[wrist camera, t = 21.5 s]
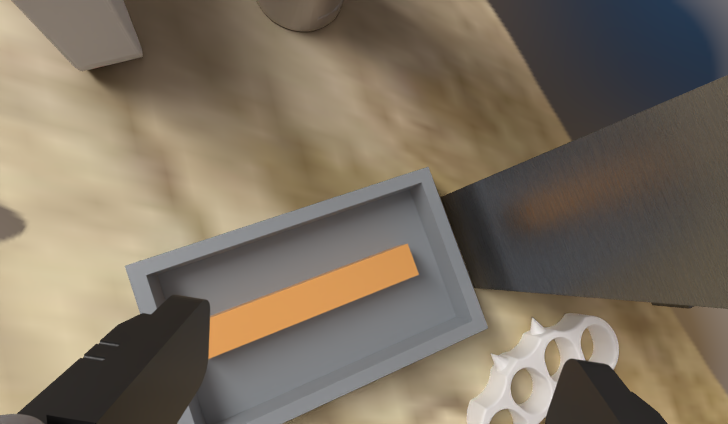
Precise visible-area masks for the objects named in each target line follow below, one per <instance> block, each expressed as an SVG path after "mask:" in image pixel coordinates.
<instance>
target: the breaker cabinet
mask: <svg viewBox="0 0 728 424" xmlns="http://www.w3.org/2000/svg"><path fill="white" fill-rule="evenodd" d="M441 200H442V203H443V205H444V208H445V211H446V213H447V216H448V219H449V221H450V224H451V227H452V229H453V232H454V235H455V238H456V240H457V243H458V246H459V248H460V251H461V254H462V256H463V259H464V262H465V264H466V267H467V270H468V273H469V275H470V278H471V281H472V283H473V286H474V288H483V289H495V290H507V291H519V292H531V293H544V294H556V295H568V296H580V297H592V298H604V299H616V300H629V301H641V302H651V303H652V305H657V306H668V307H679V308H692V307H694V306H701V307H714V308H726V309H728V75H727V76H725V77H722V78H720V79H718V80H715V81H713V82H711V83H708V84H706V85H704V86H701V87H699V88H697V89H694V90H692V91H690V92H687V93H685V94H683V95H680V96H678V97H675V98H673V99H671V100H668V101H666V102H664V103H661V104H659V105H656V106H654V107H652V108H650V109H647V110H645V111H642V112H640V113H638V114H636V115H633V116H631V117H628V118H626V119H624V120H621V121H619V122H616V123H614V124H612V125H609V126H607V127H605V128H602V129H600V130H598V131H595V132H593V133H591V134H588V135H586V136H584V137H581V138H579V139H576V140H574V141H572V142H569V143H567V144H565V145H562V146H560V147H558V148H555V149H553V150H551V151H548V152H546V153H543V154H541V155H539V156H536V157H534V158H532V159H529V160H527V161H525V162H522V163H520V164H518V165H515V166H513V167H511V168H508V169H506V170H503V171H501V172H499V173H496V174H494V175H492V176H489V177H487V178H485V179H482V180H480V181H478V182H475V183H473V184H471V185H468V186H466V187H463V188H461V189H459V190H456V191H454V192H452V193H449V194H447V195H445V196H442V197H441Z"/></svg>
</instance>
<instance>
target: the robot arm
mask: <svg viewBox="0 0 728 424" xmlns="http://www.w3.org/2000/svg"><path fill="white" fill-rule="evenodd" d="M257 2H258V5H259V6H260V8H261V9H262V11H263V12H264V13H265V14H266V15H267V16H268V17H269V18H270V19H271V20H272V21H274V22H275V23H277V24H279V25H280V26H282V27H285V28H287V29H290V30H295V31H313V30H318V29H320V28H322V27H325V26H326V25H328V24H329V23H330V22H332V21H333V20H334V18H335V17H336V16H337V15H338V13H339V11H340V8H341V6H342V2H343V0H257ZM209 332H210V303H209V301H208V300H206V299H200V298H194V297H187V296H181V295H171V296H170V297H169V298H168V299H167V300H166V301H165V302H164V303H162V304H161V305H160V306H159V307H158V308H157V309H156V310H155V311H154V312H153V313H152V314H146V313H142V314H140V315H138V316H135V317H133V318H131V319H129V320H127V321H125V322H123V323H121V324H119V325H117V326H116V327H115V328H114V329H113V330H112V331H110V332H109V333H108V334H107V335H106V336H105V337H104V338H103V339H101V340H100V343H99V344H96V345H95V346H93V347H92V348H91V349H90V350H89V351H88V352H87V353H85V354H84V358H80V359H79V360H78V361H76V362H75V363H74V364H73V365H72V366H71V367H70V368H68V369H67V370H66V371H65V372H64V373H63V374H62V375H60V376H59V377H58V378H57V379H56V380H55V381H54V382H52V383H51V384H50V385H49V386H48V387H47V388H46V389H45V390H43V391H42V392H41V393H40V394H39V395H38V396H37V397H35V398H34V399H33V400H32V401H31V402H30V403H29V404H27V405H26V406H25V407H24V408H23V409H22V410H21V411H20V412H18V413H17V414H8V415H0V424H177V423H178V421H179V420H180V418H181V417H182V415H183V413H184V412H185V410H186V409H187V407H188V405H189V404H190V402H191V401H192V399H193V397H194V396H195V394H196V393H197V391H198V389H199V388H200V386H201V384H202V382H203V379H204V376H205V373H206V370H207V365H208V357H209ZM545 424H667V422H666V421H665V420H664V419H663V418H662V416H661V415H660V414H659V413H658V412H657V411H656V410H655V409H653V408H652V407H651V406H650V405H648V404H647V403H646V402H645V401H643V400H642V399H641V398H640V397H638V396H637V395H636V394H635V393H633V392H630V390H629V389H628V388H627V387H626V385H625V384H624V383H623V382H622V380H621V379H620V378H619V377H618V375H617V374H616V373H615V371H614V370H613V369H612V368H611V367H610V366H609V365H607V364H604V363H597V362H591V361H585V360H578V359H568V360H567V361H566V362H565V363H564V365H563V368H562V370H561V373H560V376H559V379H558V382H557V385H556V388H555V391H554V394H553V397H552V400H551V403H550V406H549V408H548V411H547V415H546V422H545Z"/></svg>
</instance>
